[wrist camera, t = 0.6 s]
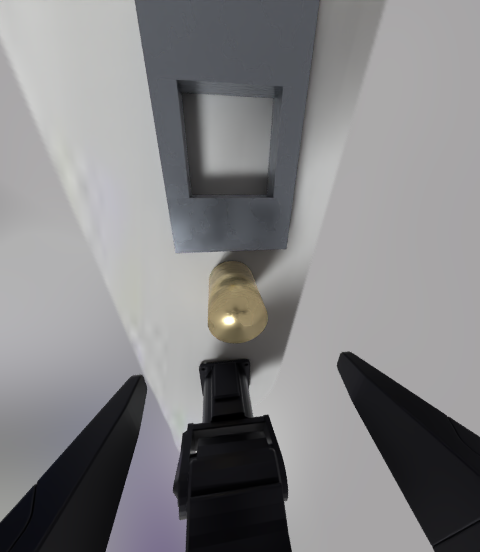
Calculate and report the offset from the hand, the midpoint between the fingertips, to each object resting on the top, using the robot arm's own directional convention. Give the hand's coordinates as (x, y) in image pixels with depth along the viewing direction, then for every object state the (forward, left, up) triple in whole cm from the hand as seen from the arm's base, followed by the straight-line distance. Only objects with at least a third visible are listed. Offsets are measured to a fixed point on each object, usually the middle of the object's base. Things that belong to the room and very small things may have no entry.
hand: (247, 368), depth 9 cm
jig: (+9, 0, -11) cm, 14 cm away
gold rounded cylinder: (-2, 0, -11) cm, 11 cm away
